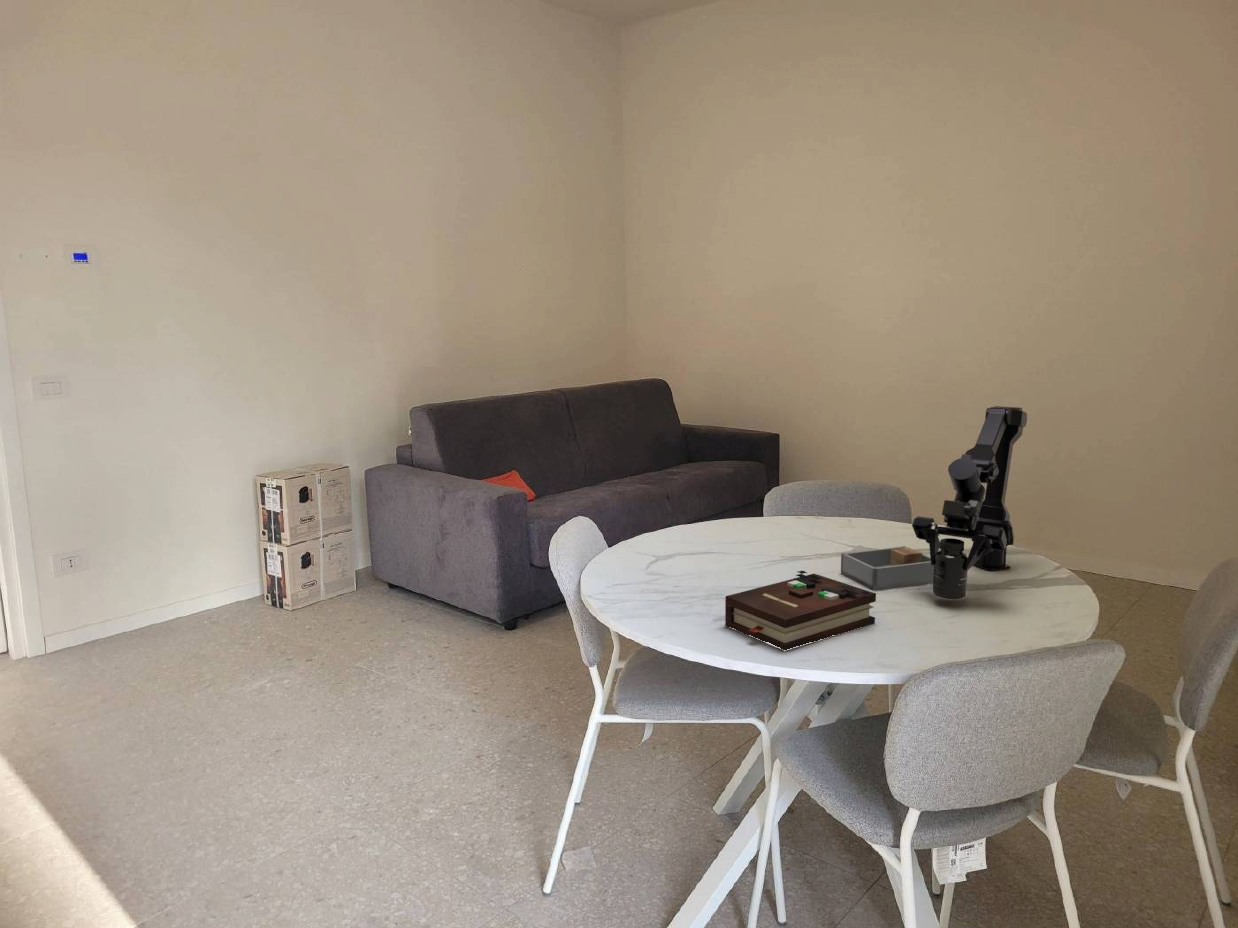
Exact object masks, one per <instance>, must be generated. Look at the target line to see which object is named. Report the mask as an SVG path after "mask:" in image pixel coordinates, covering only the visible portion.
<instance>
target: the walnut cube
mask: <svg viewBox="0 0 1238 928" xmlns="http://www.w3.org/2000/svg"><path fill="white" fill-rule="evenodd" d="M907 547H908V546H907ZM922 554H923V552H921V551H919V550H916V549H914V548H911V547H908V548H899V549H891V562H890V566H895V565H903V564H911V563H919V562H922Z"/></svg>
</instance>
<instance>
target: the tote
mask: <svg viewBox="0 0 1238 928" xmlns="http://www.w3.org/2000/svg"><path fill="white" fill-rule="evenodd" d="M899 548H908V546H904V545H903V546H895V547H885V548H878V549H877V548H876V549H869V550H859V551H851V552H843V553H840V554H841V555H840V556H841V557H840V574H841V575H842V576H843V577H846V578H848V579H850V580H852V581H854V582H856V583H858V584H860V585H862V586H864V587H866V588H868V589H869V590H872V592H873V591H881V590H882V591H883V590H887V589H895V588H897V589H898V588H904V587H913V586H919V585H926V584H927V585H928V584H933V573H934V565H931V559H930V555H927V554H924V553H922V562H919V563H911V564H903V565H895V566H890V562H891V549H899Z"/></svg>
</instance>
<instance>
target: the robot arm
mask: <svg viewBox="0 0 1238 928" xmlns="http://www.w3.org/2000/svg"><path fill="white" fill-rule="evenodd" d="M1027 421H1028V413H1027V412H1026V411H1023V408H1022V407H1017V406H1015V407H1014V406H1000V405H999V406H998V405H994V406H991V407H987V408H986V409H985V416H984V422H983V425H982V427H981V429H980V433H979V435H978V437H977V440H976V443H975V445H974V446H973V447H971V448H970V449H968V450H966V451H965V453H963V454H961V458H958V459H955V460H953V461H952V462H951V463H950V464H949V465H948V468H947V472H948V476H949V478H950V481H951V484H952V487H953V490H954V491H956V492H955V496H954V498H953V499H954V500H948V499H944V500H943V505H942V511H941V515H942V516H944V518H943V523H946V525H941V524H937V522H936V521H935V520H934V519H935V518H933V517H927V516H921V515H920V516H919V515H918V516H916V517H914V519H913V521H912V524H911V527H912V529H913V532H914V534H915V536H916V537H915V538H918V539H919V540H925V542H926V544H928V547H929V557H930V559H931V565H934V557H935V554H936V553H937V552H939V551H940V550H939V549H940V548H939V546H940V538H939V537H940V535H942V536H951V537H957V538H963V539H970V540H971V542H972V546H971V548H970V551H969V554H968V555H967V557H968V558H967V561H966V565H965V570H966V571H969V570H970V569H971V568H972V567H973V566H976V567H978V568H981V569H983V570H986V571H998V570H1005V569H1011V565H1008V564H1006V563H1007V562H1006V561H1007V560H1006V559H1007V549H1008V548H1007V547H1009V546H1013V545H1014V542H1015V536H1014V529H1013V527H1012V522H1011V520H1010V517H1011V515H1010V512H1009V510H1008V508H1007V506H1006V504H1005V502H1006V496H1007V490H1008V489H1007V487H1008V482H1009V476H1010V469H1011V468H1010V467H1011V461H1012V458H1013V457H1012V456H1013V455H1012V454H1013V449H1014V444H1015V443H1016V442H1017V441H1018V440H1019V439H1020V437H1022V435H1023V432H1024V428H1026V426H1027ZM983 484H986V488H985V485H983Z"/></svg>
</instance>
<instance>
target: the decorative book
mask: <svg viewBox="0 0 1238 928" xmlns="http://www.w3.org/2000/svg"><path fill="white" fill-rule="evenodd" d="M797 573H799V574H795V576H796V577H794V578H792V579H791V578H790V579H788V580H783V581H779V582H776V583H772V584H768V585H763V586H760V587H759V586H758V587H756V588H752V589H748V590H744V591H741V592H737V593H732V594H728V595H725V600H724V601H725V605H724V606H725V607H724V608H725V609H724V611H725V614H724V617H725V619H724V621H725V622H724V623H725V624H724V625H725V627H726V626H727V628H728V627H731V628H734V629H736V630H738V631H740V632H742V633H744V634H743V635H745V634H747V635H751V636H753V637H755V638H758V639H760V640H762V641H765V642H769V643H771V644H773V645H775V646H777V647H780V648H781V649H783V650H787V649H790V648H793V647H796V646H800V645H803V644H806V643H809V642H814V641H818V640H820V639H824V638H827V637H830V636H832V635H837V636H839V635H838V634H840V635H843V634H846V633H849V632H852V631H855V630H854V629H856V630H858V629H857V628H859V629H861V628H860V627H862V628H866V627H868V626H871V625H874V624H875V623H876V617H875V616H873V615H870V610H871V609H873V608H875V606H874V605H871V603H875V602H877V593H876V592H873V591H870V590H866V589H863V588H860V587H857V586H853V585H851V584H848V583H845V582H841V581H839V580H835V579H832V578H829V577H826V576H823V575H821V574H817V573H811V574H808V572H807V571H805V570H800V571H797ZM731 628H730V629H731ZM851 630H852V631H851ZM738 631H737V632H738ZM848 631H849V632H848ZM740 632H739V633H740ZM845 632H846V633H845ZM742 633H741V634H742ZM842 633H843V634H842ZM747 635H746V636H747ZM830 638H831V637H830ZM827 639H828V638H827ZM824 640H825V639H824ZM818 642H819V641H818ZM814 643H815V642H814Z"/></svg>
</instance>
